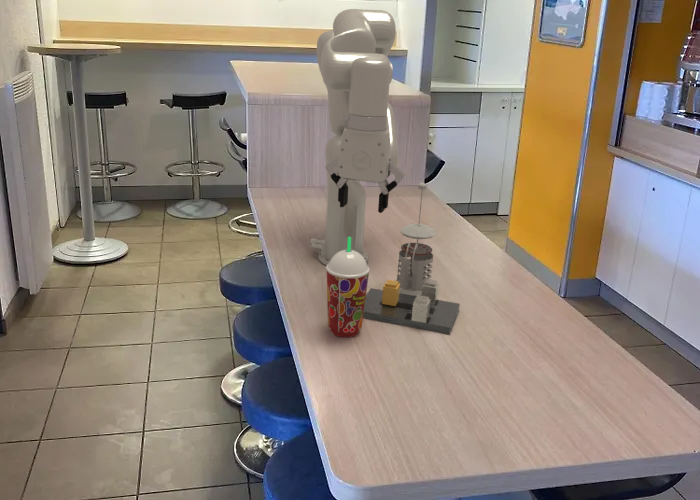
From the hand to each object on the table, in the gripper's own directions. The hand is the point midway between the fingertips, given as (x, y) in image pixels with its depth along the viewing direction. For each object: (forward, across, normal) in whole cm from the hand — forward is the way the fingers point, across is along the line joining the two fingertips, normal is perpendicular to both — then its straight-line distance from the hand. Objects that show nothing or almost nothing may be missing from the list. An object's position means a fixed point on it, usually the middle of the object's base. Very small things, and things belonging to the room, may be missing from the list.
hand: (362, 207), depth 139 cm
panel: (+22, +11, 0) cm, 25 cm away
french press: (+22, +10, +13) cm, 27 cm away
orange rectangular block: (+20, +7, 0) cm, 21 cm away
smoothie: (+22, +1, -13) cm, 26 cm away
